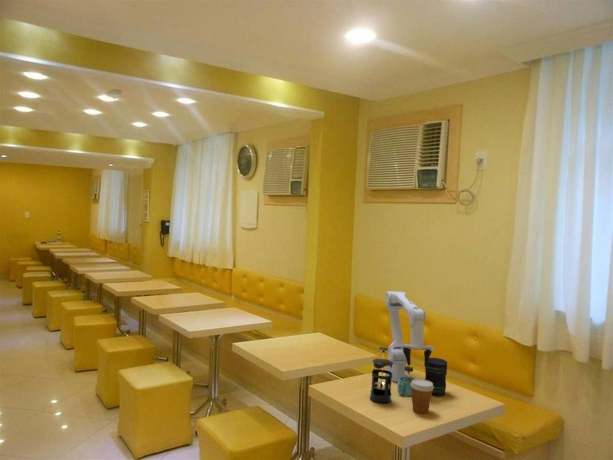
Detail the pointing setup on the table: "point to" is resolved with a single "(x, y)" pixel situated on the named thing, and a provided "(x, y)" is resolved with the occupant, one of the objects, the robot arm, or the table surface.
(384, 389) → the french press
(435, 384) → the storage jar
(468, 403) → the table surface
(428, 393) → the disposable coffee cup
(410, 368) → the plunger
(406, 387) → the carafe
